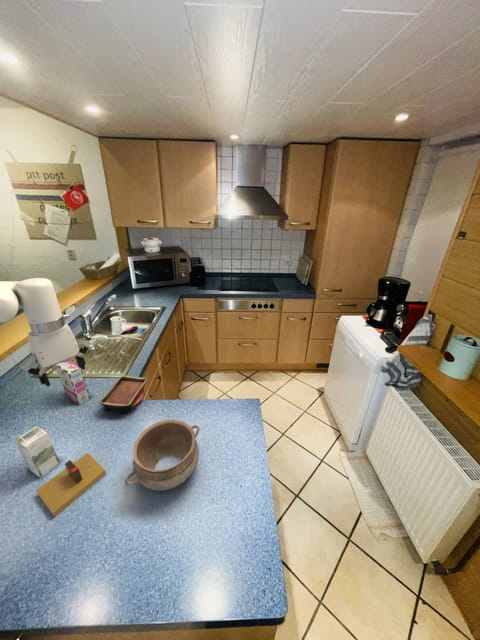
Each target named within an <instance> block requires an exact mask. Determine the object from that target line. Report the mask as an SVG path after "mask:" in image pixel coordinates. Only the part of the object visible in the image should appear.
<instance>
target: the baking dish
mask: <svg viewBox="0 0 480 640" xmlns="http://www.w3.org/2000/svg"><path fill="white" fill-rule="evenodd" d="M146 383H147V379H146V378H144V377H141V376H131V375H122V376H120V377H119V378H118V379H117V380H116V381H115V383H114V384H113V385H112V386H111V388H110V389H109V390H108V391H107V392H106V393H105V394H104V396H103V397H102V398H101V399H100V401H99V404H100V405H101V406H103V407H104V410H105V411H108V410H115V411H116V412H117V411H118V412H121V413H123V414H131V413H132V412H134V411H135V409H136V408H137V406H138V404H139V403H140V402H141V401H142V400H143V399H144V397H145V396H146V395H145V394H146V393H145V387H146Z"/></svg>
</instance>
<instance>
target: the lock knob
mask: <svg viewBox="0 0 480 640" xmlns="http://www.w3.org/2000/svg"><path fill="white" fill-rule="evenodd" d="M73 463H74V462H72V460H68V461H66V462H65V463H64V466H65V469H67V471H68V474H69V475H70V476H71V477H72V478H73V480H74V481H75V482H76V483H77V484H78V483H79V482H80V481H81V480H82V476H81V474H80V471H79V469H78V468H77V467H76V466H75V465H74V464H73Z"/></svg>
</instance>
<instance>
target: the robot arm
mask: <svg viewBox="0 0 480 640" xmlns="http://www.w3.org/2000/svg"><path fill="white" fill-rule="evenodd" d="M19 308H21V309H22V310H23V313H24V316H25V318H26V320H27V321H26V322H27V324H28V326H29V329H30V331H29V332H28V333H27V336H28V337H27V338H28V343H29V348H30V351H31V355H30V356H29V357H28V358H26V359H25V360H24V361H23V362H22V363H20V365H19V368H20V369H21V370H23V371H24V372H26V373H28V374H30V375H35V376H37V377H38V380H39V383H40V384H41V385H45V386H46V387H51V383H50V380H49V378H48V375H47V373H45V372H46V370H47V368H49V367H51V366H54V365H56V364H59V363H61V362H63V361H66V360H69V359H70V358H73V357H75V360H76V365H77V366H78V367H80V368H81V369H82V371H83V370H85V369H86V359H85V356H86V353H87V352H88V350H89V345H90V340H88V339H84V338H76V336H75V335H74V333H73V330H72V329H71V328H70V326H69V324H68V323H67V322H66V321H67V320H69V319H70V316H69V314H63V313H62V310H61V306H60V303H59V300H58V297H57V294H56V291H55V287H54V284H53V282H52V280H50V279H48V278H45V277H33V278H26V279H23V280H8V281H7V280H5V281H4V280H3V281H2V280H0V324H4V323H6V322H9V321H11V320H12V319H13V318H15V317H16V316H17V314H18V311H19ZM79 345H81V346H80V348H79ZM34 363H36V364H37V365H36V367H35V368H34V367H31V365H33V364H34Z"/></svg>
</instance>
